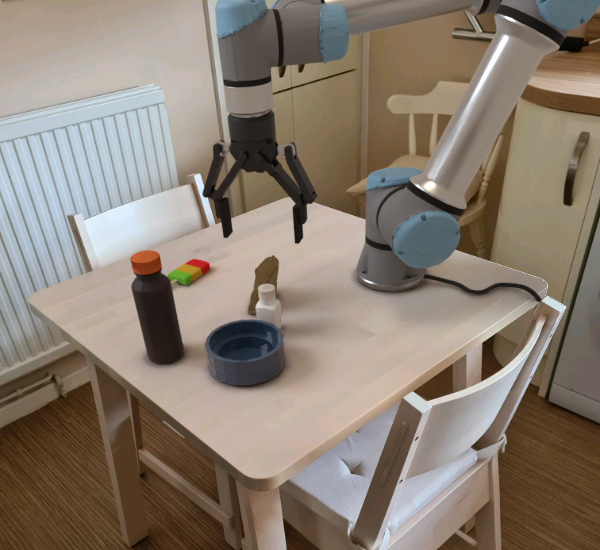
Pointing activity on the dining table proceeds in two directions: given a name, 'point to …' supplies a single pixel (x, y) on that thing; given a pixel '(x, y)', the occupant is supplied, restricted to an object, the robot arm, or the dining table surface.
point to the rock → (264, 279)
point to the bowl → (245, 352)
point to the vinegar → (156, 308)
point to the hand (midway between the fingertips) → (263, 237)
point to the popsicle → (189, 272)
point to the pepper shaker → (268, 305)
